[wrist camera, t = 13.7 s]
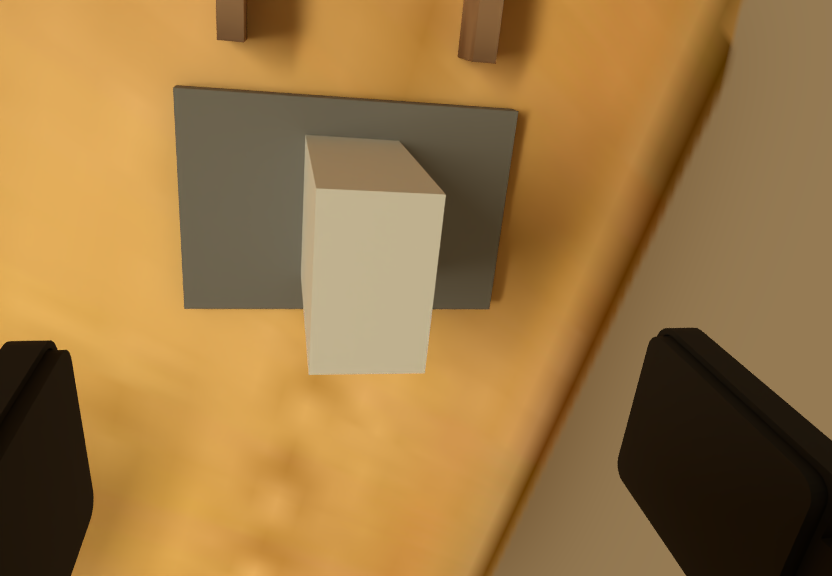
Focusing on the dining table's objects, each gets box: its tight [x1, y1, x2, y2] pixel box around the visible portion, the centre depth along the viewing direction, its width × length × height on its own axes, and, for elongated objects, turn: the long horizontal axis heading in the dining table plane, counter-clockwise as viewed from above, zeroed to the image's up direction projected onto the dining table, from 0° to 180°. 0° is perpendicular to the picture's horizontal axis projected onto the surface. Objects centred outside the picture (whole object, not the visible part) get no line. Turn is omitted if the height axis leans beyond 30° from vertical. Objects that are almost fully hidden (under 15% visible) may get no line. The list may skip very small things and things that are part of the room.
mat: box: [173, 85, 518, 309], centre depth 37 cm, size 12×18×1 cm, turn 85°
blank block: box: [301, 135, 446, 375], centre depth 31 cm, size 8×5×11 cm, turn 174°
